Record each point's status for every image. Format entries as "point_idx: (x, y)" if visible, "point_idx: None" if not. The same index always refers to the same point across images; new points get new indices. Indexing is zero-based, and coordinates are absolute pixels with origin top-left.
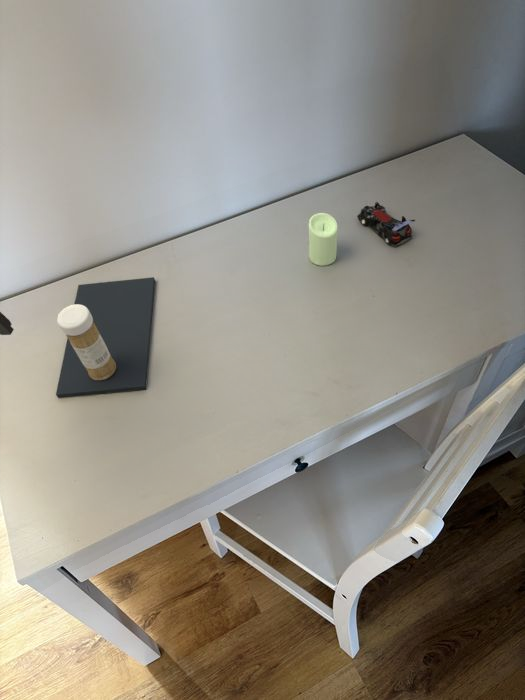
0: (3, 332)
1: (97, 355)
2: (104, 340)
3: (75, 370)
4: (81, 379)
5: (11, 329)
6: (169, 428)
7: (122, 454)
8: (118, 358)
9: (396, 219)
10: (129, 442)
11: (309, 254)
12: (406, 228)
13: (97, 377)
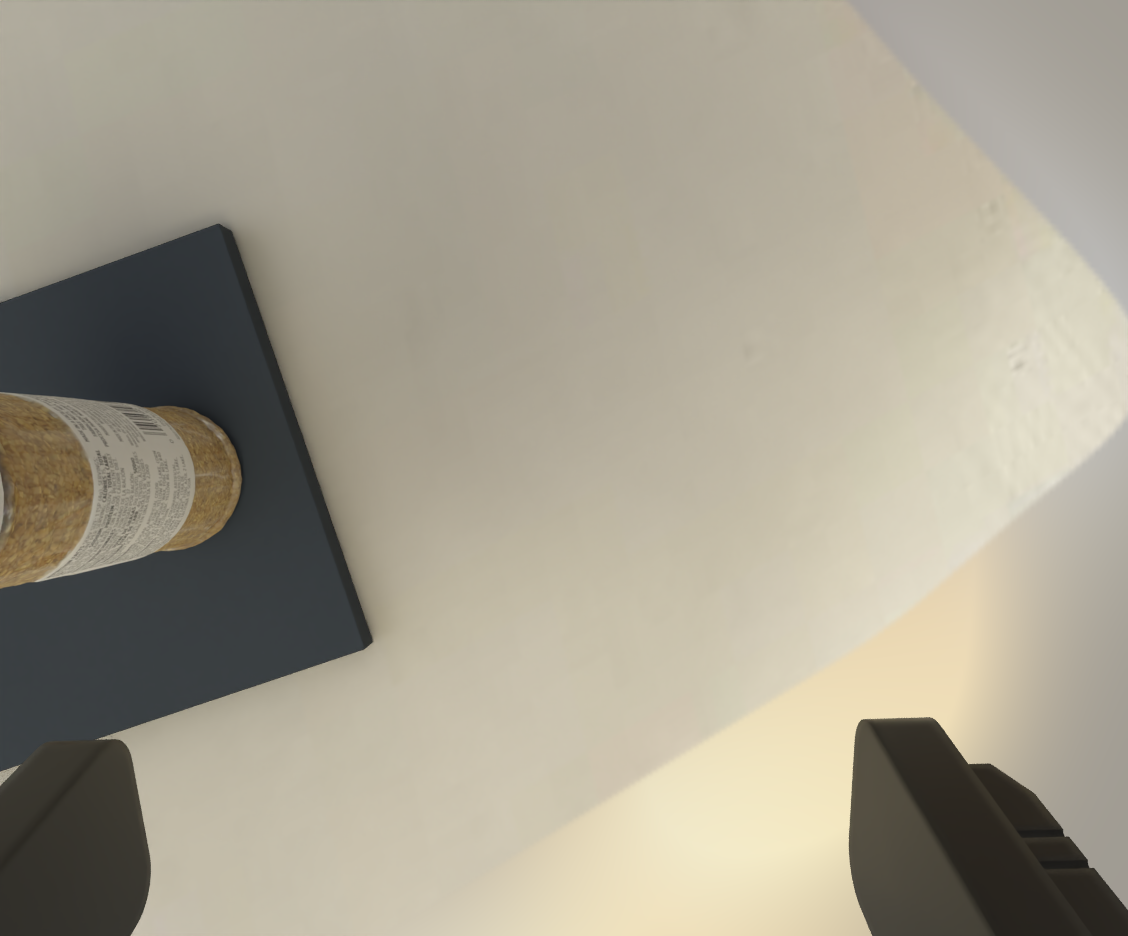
0: (120, 838)
1: (109, 412)
2: None
3: (209, 618)
4: (253, 560)
5: (60, 750)
6: (404, 33)
7: (579, 196)
8: None
9: None
10: (515, 190)
11: None
12: None
13: (228, 465)
